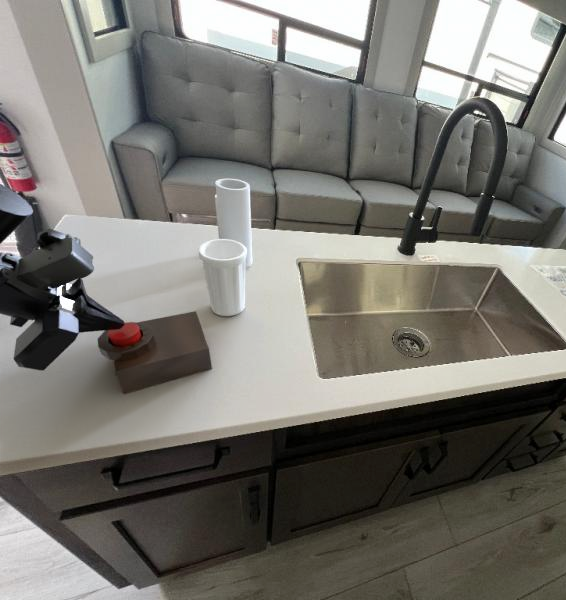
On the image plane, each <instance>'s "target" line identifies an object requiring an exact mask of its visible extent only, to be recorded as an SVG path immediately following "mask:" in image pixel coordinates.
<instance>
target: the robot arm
mask: <svg viewBox="0 0 566 600" xmlns="http://www.w3.org/2000/svg"><path fill="white" fill-rule="evenodd" d="M33 213H34V209H33V207H32V205H31V204H30V202H28V201H27V200H26V199H25V198H24V197H22V196H21V195H19V193H17V192H15V191H14V190H12V189H11V188H9V187H7V186H5V185H3V184H2V183H0V245H1V244H2V243H3V242H4V241H5V240H6V239H7V238H8V237H9V236H10V235H11V234H12V233H13V232H15V231H16V230H17V229H18V228H19V227H20V226H21V225H22V224H23V223H24V222H25V221H26V220H27V219H28V218H29V217H30V216H31V215H33ZM36 242H37V244H38V247H39V248H38V247H34V248H32V252H30V253H28V254H27V255H24V256H19V255H16V254H14V253H11V252H6V253H5V252H3V251H1V252H0V315H3V316H7V317H10V322H9V325H10V326H15V327H19V328H22V327H24V326H25V325H26V323H27V322H29V321H33V322H32V323H31V324H30V325H29V326H28V327H27V328H26V329H25V330H24V331H23V332H22V333H20V334H19V335H18V336H17V337H16V339H15V345H14V353H13V361H14V362H15V364H16V365H17V367H19V368H22V369H23V368H24V369H29V370H34V371H35V370H36V371H41V372H42V371H43V372H44V371H45V370H46V369H47V368H48V367H49V366H50V365H51V364H53V362H54V361H55V360H56V359H57V358H59V357H60V355H62V353H64V352H65V350H67V349H68V348H69V347H70V346H71V345H72V344H73V343H74V342H75V341H77V340H76V339H77V338H78V336H79V334H83V333H90V332H91V333H92V332H104V331H105V330H117V329H121V328H122V327H123V326H124V323H125V320H124V319H122V318H121V317H119V316H118V315H116V314H115V313H113V312H112V311H110V310H109V309H107V308H106V307H104V306H103V305H102V304H100V303H98V302H97V301H96V300H95V299H93V297H91V296H89V295H88V293H87V289H86V287H85V284H84V280H83V279H84V278H87V277H89V276H90V275H91V274H92V273H93V272H94V270H95V266H94V264H93V260H94V256H93V254H91V253H90V252H89V251H88V250H87V249H85V248H84V247H83V246H82V245H81V239H80V238H79V237H76V236H75V237H73V236H72V235H71V234H69V233H68V234H66V233H64V232H61V231H58V230H56V229H52V228H47V229H45V230H42V231H40V232H37V236H36ZM72 282H73V283H72Z"/></svg>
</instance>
